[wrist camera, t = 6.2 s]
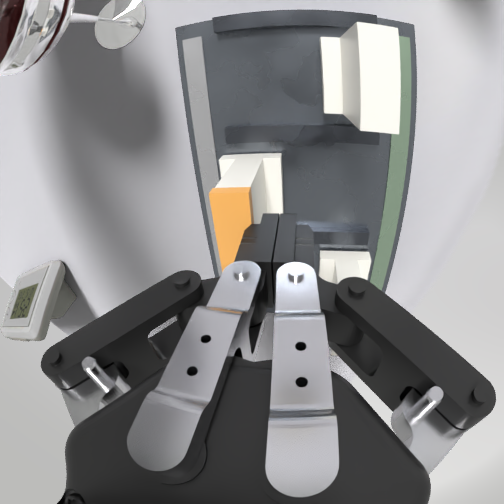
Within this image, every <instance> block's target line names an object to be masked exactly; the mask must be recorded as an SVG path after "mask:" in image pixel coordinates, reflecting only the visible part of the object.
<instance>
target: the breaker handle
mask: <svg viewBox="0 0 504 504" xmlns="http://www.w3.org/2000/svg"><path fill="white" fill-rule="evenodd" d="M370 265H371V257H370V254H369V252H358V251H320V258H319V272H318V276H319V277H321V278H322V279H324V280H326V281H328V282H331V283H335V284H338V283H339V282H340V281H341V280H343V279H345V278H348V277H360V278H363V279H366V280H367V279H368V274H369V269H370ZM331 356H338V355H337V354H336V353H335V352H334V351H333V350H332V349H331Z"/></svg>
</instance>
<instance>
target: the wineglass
mask: <svg viewBox="0 0 504 504" xmlns="http://www.w3.org/2000/svg"><path fill="white" fill-rule="evenodd" d="M74 7H75V0H0V76H9V75H14V74H18V73H20V72H22V71H25V70H27V69H29V68H30V67H32V66H33V65H35V64H36V63H37V62H39V61H40V60H42V59H43V58H45V57H46V56H47V55H48V54H49V53H50V52H51V51H52V49H53V48H54V47H55V46H56V45H57V43H58V41H59V40H60V38H61V37H62V35H63V34H64V32H65V30H66V29H67V27H68V25H69V23H75V22H96V24H95V37H96V39H97V41H98V43H99V44H100V45H101V46H103V47H105V48H108V49H118V48H121V47H123V46H126V45H127V44H128V43H130V42H131V41H132V40H133V39H134V38H135V37H136V36H137V35H138V34H139V32H140V30H141V28H142V26H143V24H144V20H145V16H146V14H145V6H144V4H143V2H142V1H141V0H112V1H110V2H109V3H108V4H106V5H105V7H104V8H103V9H102V10H101V12H100V13H99V15H98V16H95V15H88V14H81V13H73V11H74Z"/></svg>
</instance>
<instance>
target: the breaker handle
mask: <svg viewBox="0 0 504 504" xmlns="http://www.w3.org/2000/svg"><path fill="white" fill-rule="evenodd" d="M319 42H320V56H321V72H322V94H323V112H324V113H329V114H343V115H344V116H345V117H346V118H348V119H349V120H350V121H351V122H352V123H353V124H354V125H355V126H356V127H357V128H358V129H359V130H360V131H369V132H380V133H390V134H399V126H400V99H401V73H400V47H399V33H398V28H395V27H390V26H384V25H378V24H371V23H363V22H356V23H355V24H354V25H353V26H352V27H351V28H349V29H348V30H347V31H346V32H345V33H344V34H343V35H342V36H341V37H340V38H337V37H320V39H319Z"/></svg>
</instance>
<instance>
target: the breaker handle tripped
mask: <svg viewBox="0 0 504 504" xmlns="http://www.w3.org/2000/svg"><path fill="white" fill-rule="evenodd" d="M219 165H220V172H221V180H220V181H219V182H218V184H217V185H216V187H215V188H212V190H211V191H210V192H209V199H210V205H211V211H212V217H213V222H214V228H215V234H216V240H217V245H218V251H219V256H220V262H221V267H222V272H223V270H224V269H225V268H226V267H227V266H228V265H229V264H231V263H233V262H234V260H235V257H236V254H237V251H238V248H239V245H240V242H241V239H242V236H243V233H244V231H245V229H246V228H247V227H249V226H250V225H251V224H260V223H261V219H262V215H263V213H279V214H281V213H284V195H283V170H282V153H260V154H235V155H223V156H222V157H221V158H220V159H219Z"/></svg>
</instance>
